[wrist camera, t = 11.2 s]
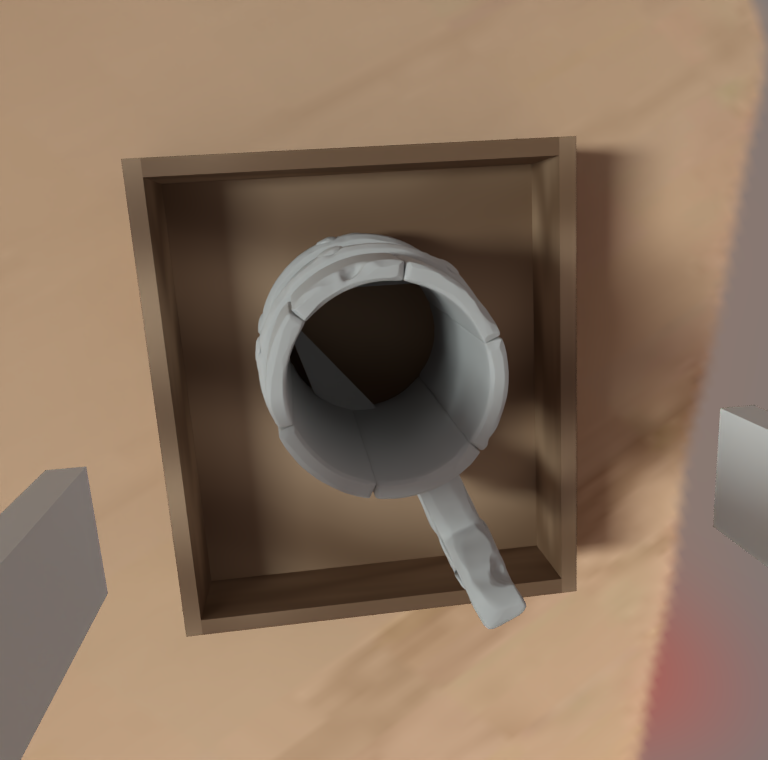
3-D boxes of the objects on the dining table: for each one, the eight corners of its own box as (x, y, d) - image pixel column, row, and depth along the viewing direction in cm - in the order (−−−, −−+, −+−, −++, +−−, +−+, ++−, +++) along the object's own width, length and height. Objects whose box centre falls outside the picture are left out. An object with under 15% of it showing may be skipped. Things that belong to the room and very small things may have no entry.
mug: (404, 197, 26) (484, 168, 15) (523, 458, 29) (670, 608, 17) (226, 286, 26) (162, 328, 14) (362, 539, 29) (401, 744, 17)
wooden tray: (147, 169, 26) (121, 158, 22) (539, 149, 27) (576, 136, 23) (201, 586, 29) (186, 636, 26) (543, 548, 31) (576, 591, 27)
